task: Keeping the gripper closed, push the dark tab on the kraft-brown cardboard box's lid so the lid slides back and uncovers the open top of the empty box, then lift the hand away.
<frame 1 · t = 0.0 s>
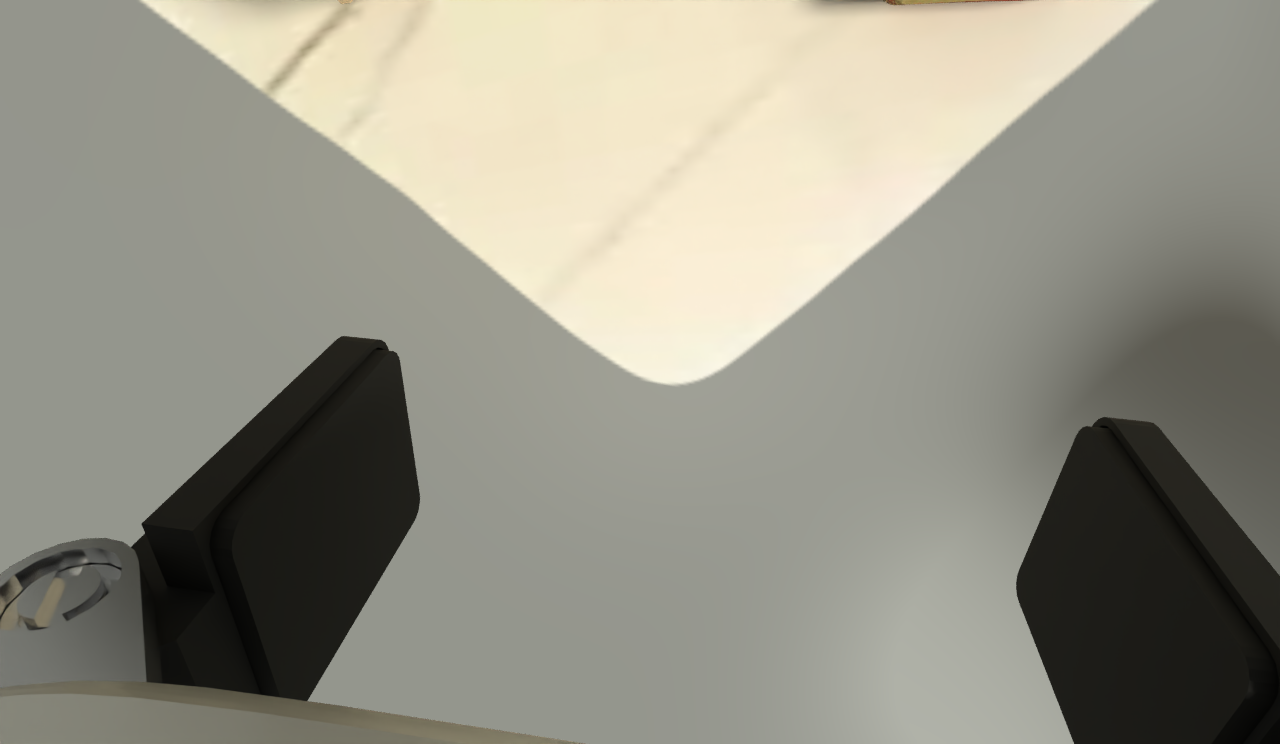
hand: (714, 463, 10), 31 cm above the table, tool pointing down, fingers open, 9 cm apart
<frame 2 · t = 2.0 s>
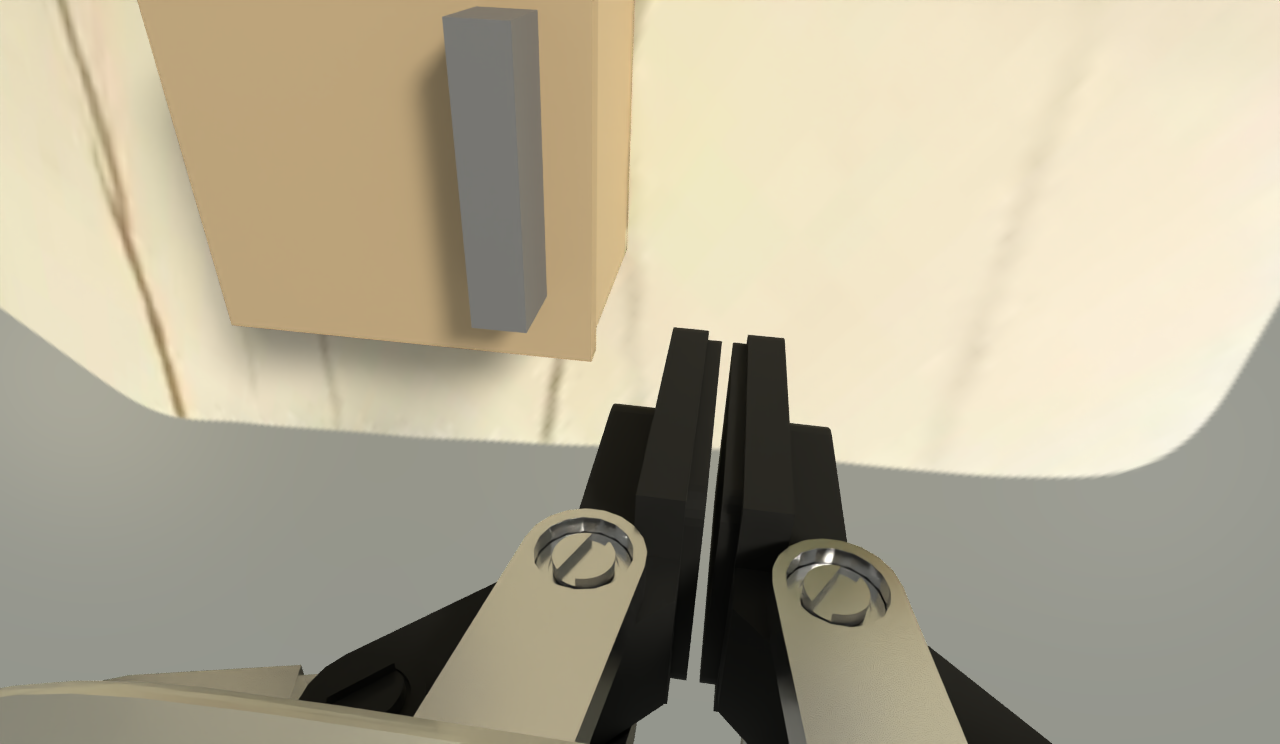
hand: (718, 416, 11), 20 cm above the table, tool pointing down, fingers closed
box lid: (366, 162, 20), point 10 cm above the table, slide at 0.0 cm
shipping box: (479, 92, 29), on the table
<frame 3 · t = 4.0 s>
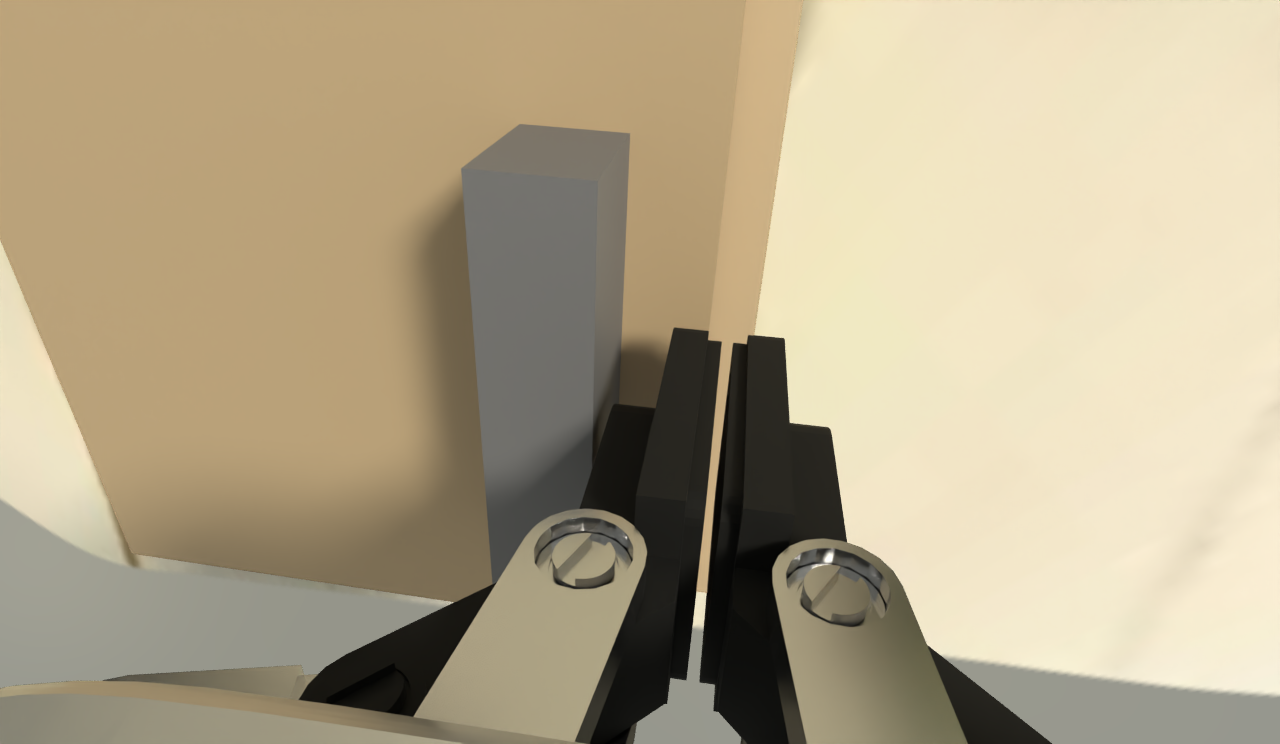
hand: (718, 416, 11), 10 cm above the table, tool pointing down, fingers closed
box lid: (326, 366, 12), point 10 cm above the table, slide at 1.0 cm, touching gripper
shipping box: (538, 195, 21), on the table
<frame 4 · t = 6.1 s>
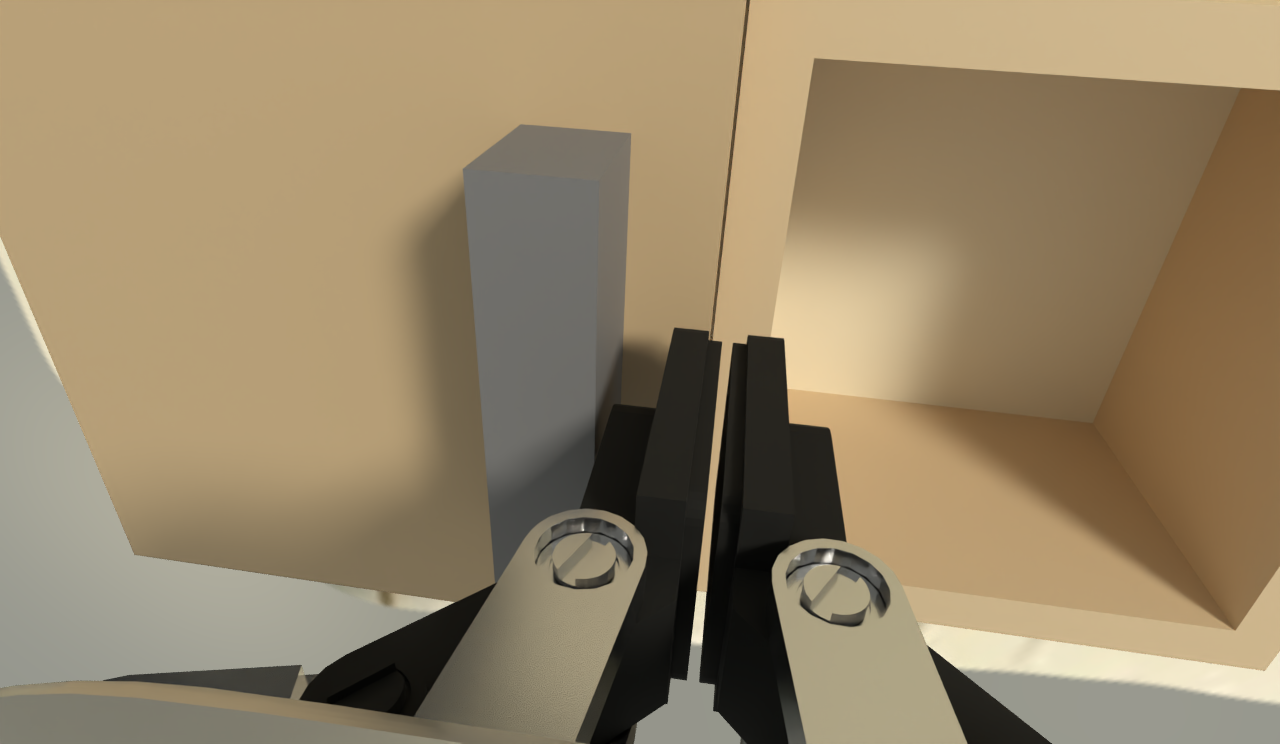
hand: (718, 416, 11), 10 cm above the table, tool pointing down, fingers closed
box lid: (328, 367, 12), point 10 cm above the table, slide at 12.2 cm, touching gripper
shipping box: (954, 233, 19), on the table
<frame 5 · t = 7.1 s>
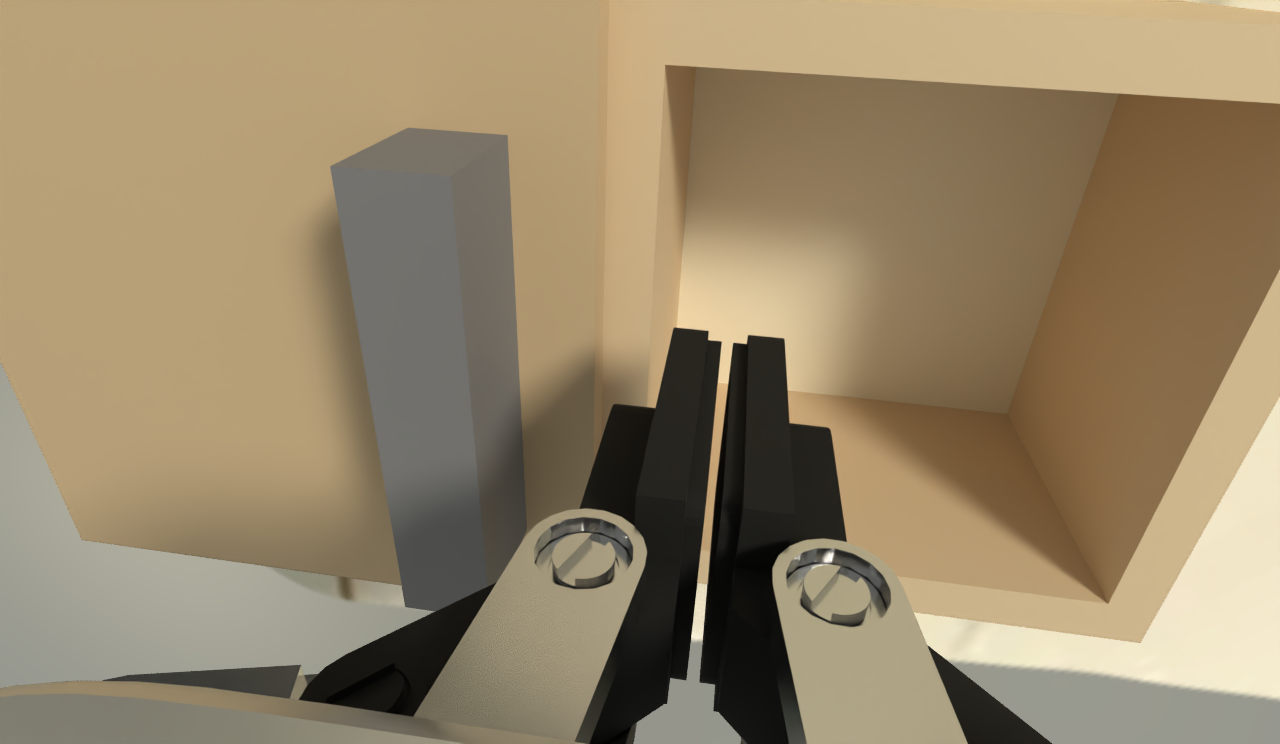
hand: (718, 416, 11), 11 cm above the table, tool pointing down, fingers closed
box lid: (244, 355, 13), point 10 cm above the table, slide at 12.1 cm
shipping box: (865, 231, 20), on the table
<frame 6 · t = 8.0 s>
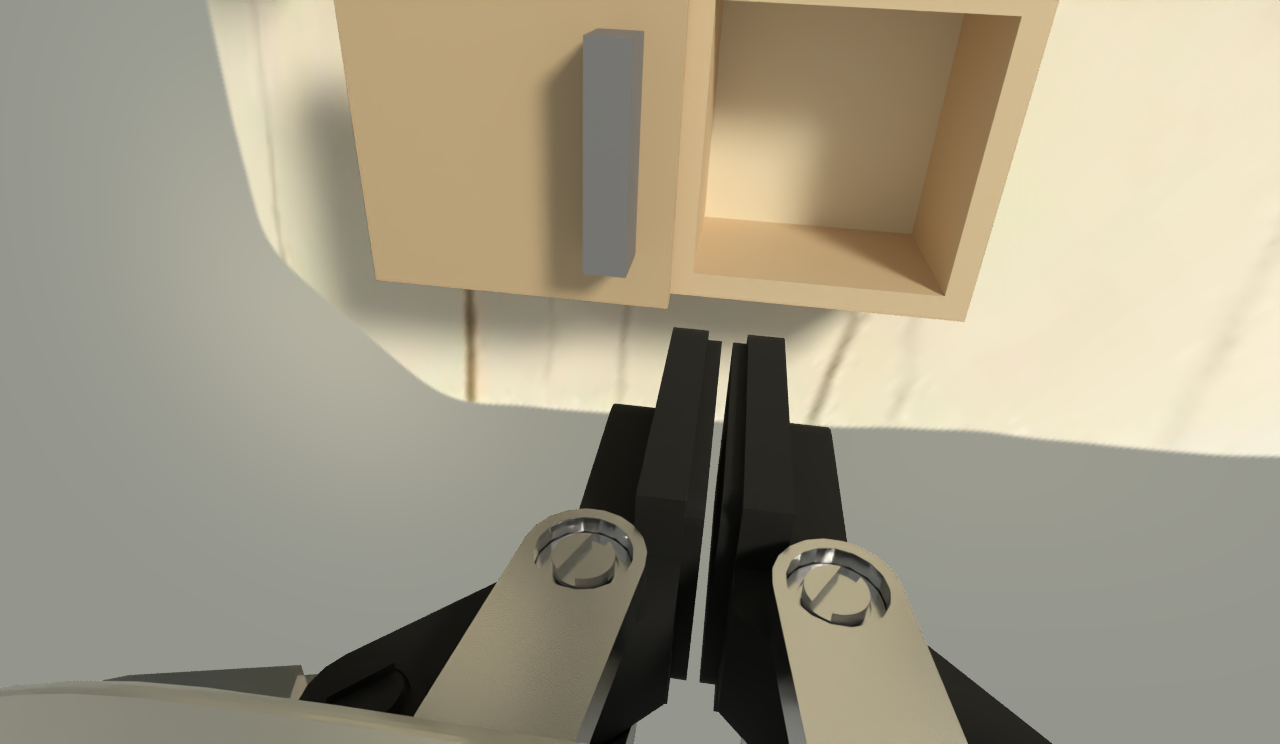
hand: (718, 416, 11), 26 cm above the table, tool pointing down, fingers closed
box lid: (505, 146, 27), point 10 cm above the table, slide at 12.1 cm
shipping box: (823, 116, 34), on the table
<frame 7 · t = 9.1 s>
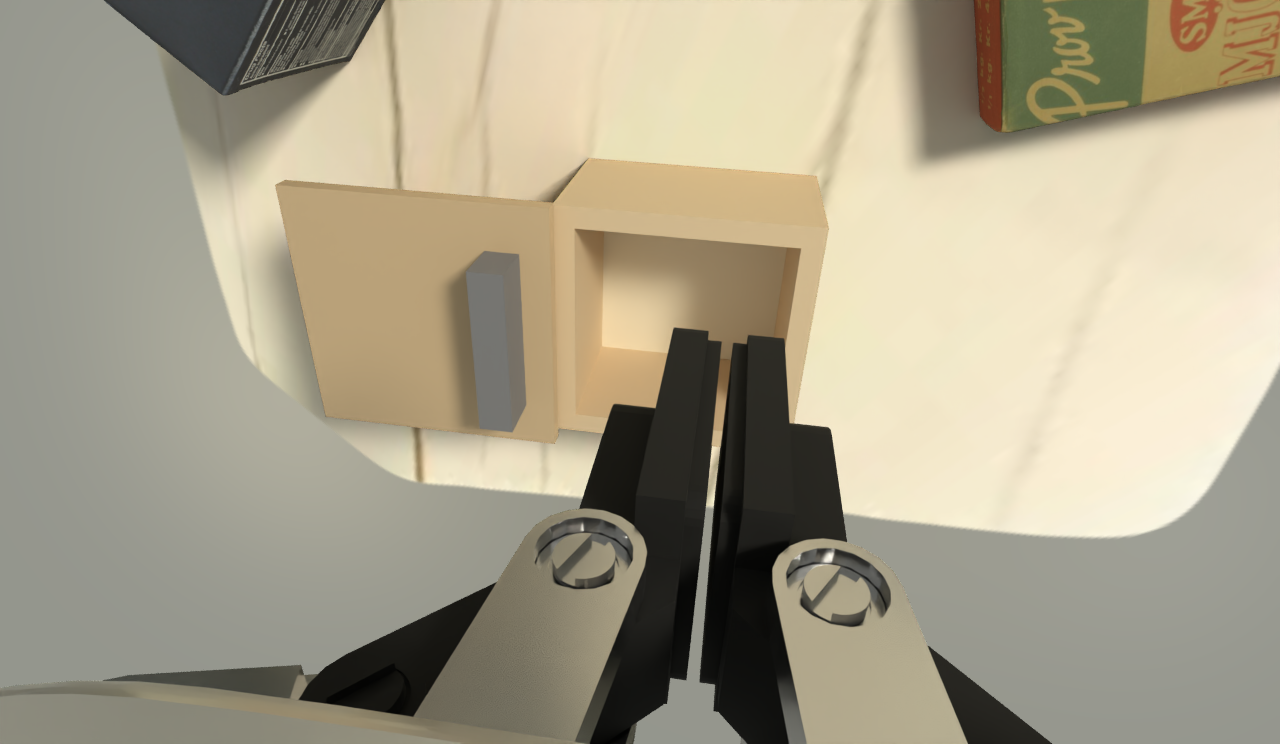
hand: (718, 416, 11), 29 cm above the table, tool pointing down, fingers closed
box lid: (418, 331, 34), point 10 cm above the table, slide at 12.1 cm
shipping box: (692, 273, 42), on the table
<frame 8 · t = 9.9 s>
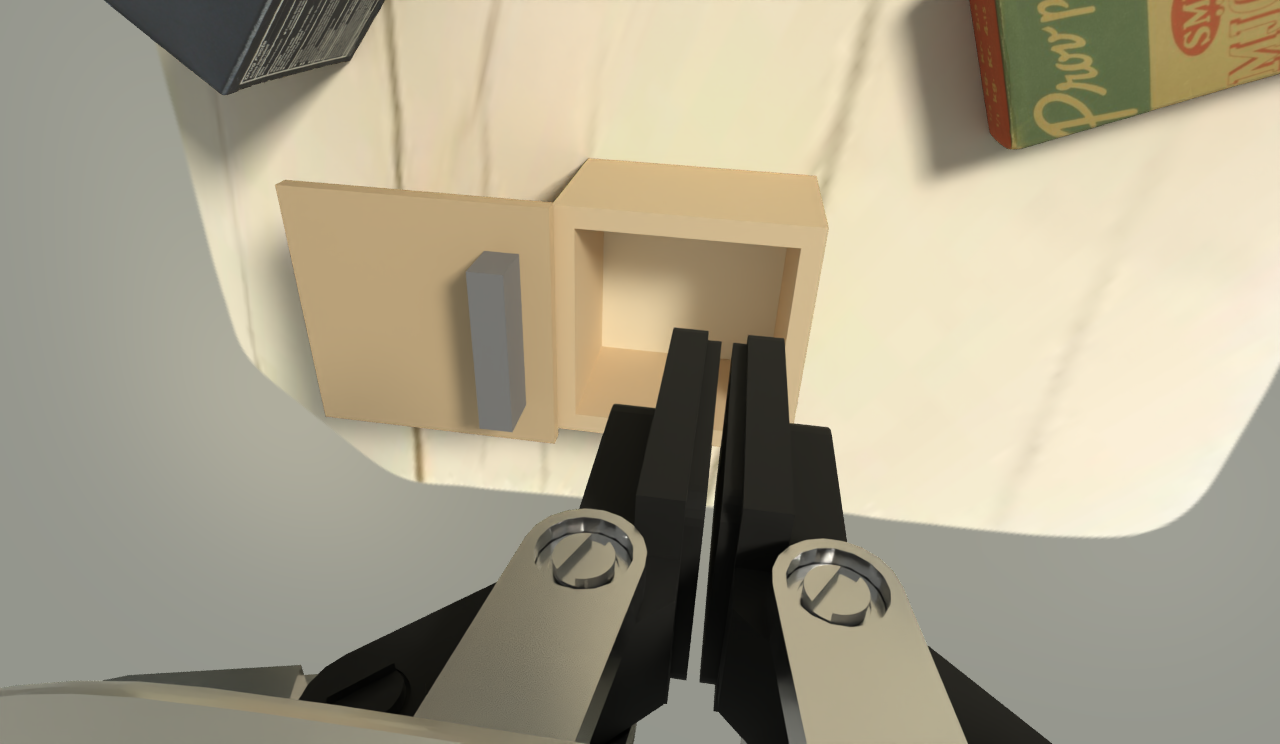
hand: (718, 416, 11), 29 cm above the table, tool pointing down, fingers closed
box lid: (418, 331, 34), point 10 cm above the table, slide at 12.1 cm
shipping box: (691, 273, 42), on the table
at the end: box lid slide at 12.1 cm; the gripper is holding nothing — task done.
